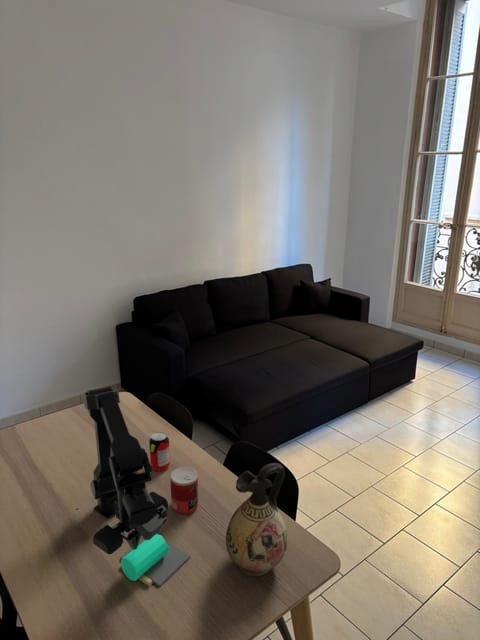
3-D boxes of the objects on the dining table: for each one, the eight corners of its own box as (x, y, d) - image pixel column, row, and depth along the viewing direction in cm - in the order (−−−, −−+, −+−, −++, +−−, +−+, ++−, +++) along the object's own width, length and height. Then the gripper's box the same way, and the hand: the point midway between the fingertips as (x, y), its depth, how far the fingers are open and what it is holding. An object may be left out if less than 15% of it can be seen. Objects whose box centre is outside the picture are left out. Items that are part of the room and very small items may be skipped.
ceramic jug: (240, 597, 113) (242, 493, 103) (217, 550, 127) (217, 453, 117) (302, 574, 120) (310, 474, 110) (274, 531, 133) (279, 438, 123)
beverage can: (168, 459, 163) (166, 429, 159) (171, 470, 158) (170, 439, 154) (149, 463, 161) (147, 432, 157) (152, 474, 156) (150, 442, 152)
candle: (117, 560, 118) (153, 532, 127) (129, 582, 117) (165, 552, 126) (128, 555, 115) (164, 527, 124) (140, 578, 114) (176, 547, 123)
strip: (121, 566, 121) (121, 563, 121) (124, 564, 122) (124, 560, 121) (149, 587, 116) (149, 583, 115) (152, 584, 116) (152, 580, 116)
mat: (120, 559, 123) (120, 557, 123) (151, 533, 132) (151, 531, 132) (159, 586, 116) (159, 585, 115) (190, 557, 124) (190, 555, 124)
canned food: (194, 517, 138) (193, 485, 134) (167, 512, 139) (166, 481, 136) (201, 499, 145) (201, 468, 141) (176, 495, 146) (175, 465, 143)
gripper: (122, 536, 99) (127, 592, 104) (183, 488, 113) (185, 540, 119) (88, 512, 105) (94, 567, 110) (150, 470, 119) (153, 520, 125)
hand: (134, 548), depth 116 cm, fingers closed
